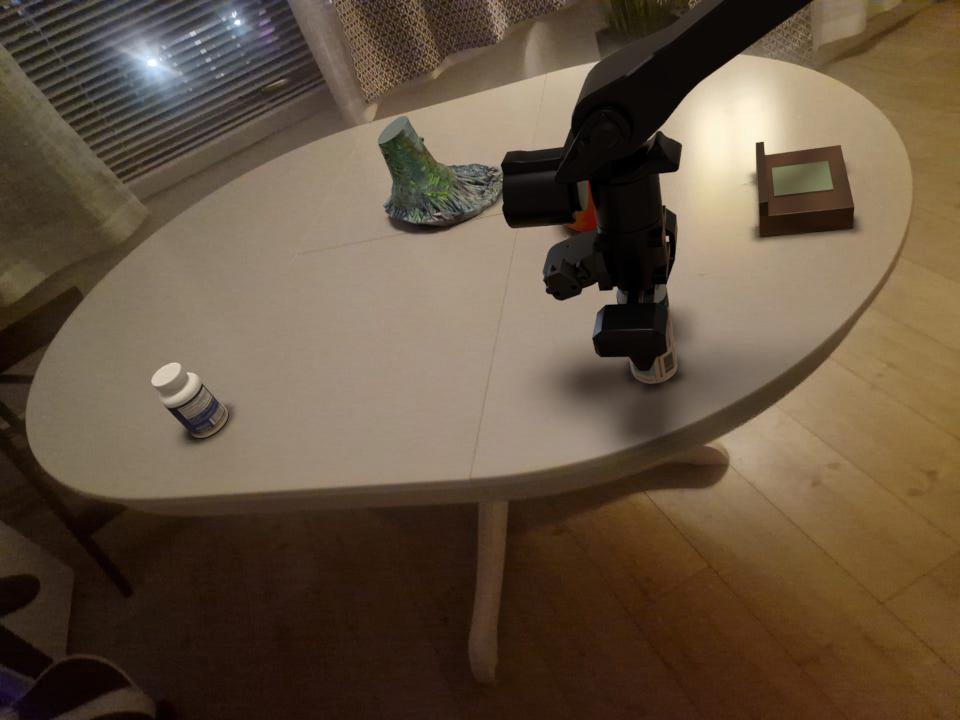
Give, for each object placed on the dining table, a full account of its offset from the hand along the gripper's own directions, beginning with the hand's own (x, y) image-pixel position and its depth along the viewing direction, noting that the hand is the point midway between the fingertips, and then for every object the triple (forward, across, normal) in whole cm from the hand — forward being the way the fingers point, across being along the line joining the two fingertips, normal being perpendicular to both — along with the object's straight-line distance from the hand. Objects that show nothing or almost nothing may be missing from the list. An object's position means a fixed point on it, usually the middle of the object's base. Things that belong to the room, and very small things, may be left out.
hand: (647, 341), depth 67 cm
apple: (+5, -29, -11) cm, 31 cm away
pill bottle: (+6, +8, -57) cm, 58 cm away
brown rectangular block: (+4, -29, +16) cm, 34 cm away
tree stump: (+5, -40, -37) cm, 54 cm away
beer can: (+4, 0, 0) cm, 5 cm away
